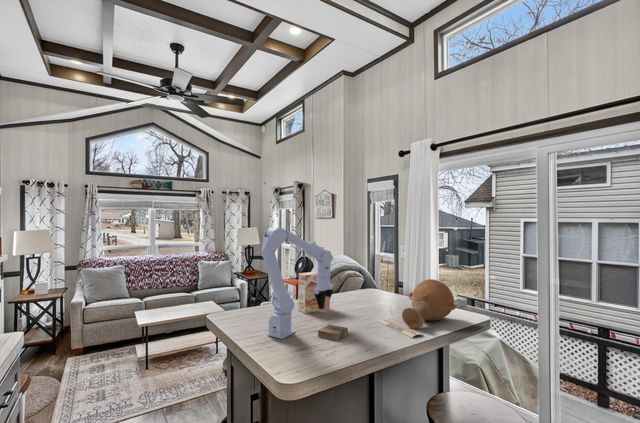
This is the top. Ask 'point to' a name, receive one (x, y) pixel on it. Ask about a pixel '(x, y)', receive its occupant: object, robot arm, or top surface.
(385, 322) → the newspaper
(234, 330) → the top surface
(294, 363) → the top surface
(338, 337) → the walnut base block
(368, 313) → the top surface
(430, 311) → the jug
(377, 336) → the top surface
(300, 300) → the coffeecake box
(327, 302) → the terracotta block
